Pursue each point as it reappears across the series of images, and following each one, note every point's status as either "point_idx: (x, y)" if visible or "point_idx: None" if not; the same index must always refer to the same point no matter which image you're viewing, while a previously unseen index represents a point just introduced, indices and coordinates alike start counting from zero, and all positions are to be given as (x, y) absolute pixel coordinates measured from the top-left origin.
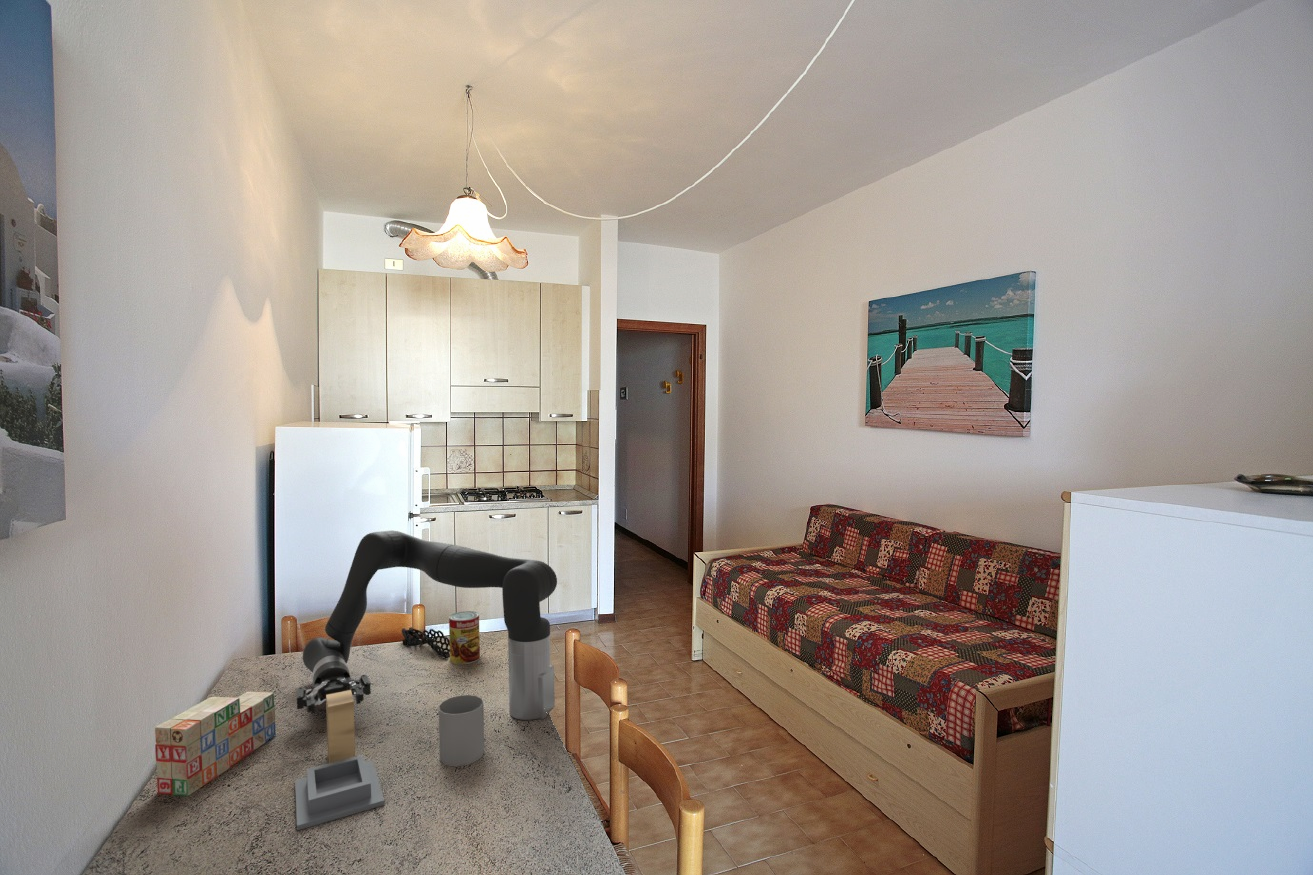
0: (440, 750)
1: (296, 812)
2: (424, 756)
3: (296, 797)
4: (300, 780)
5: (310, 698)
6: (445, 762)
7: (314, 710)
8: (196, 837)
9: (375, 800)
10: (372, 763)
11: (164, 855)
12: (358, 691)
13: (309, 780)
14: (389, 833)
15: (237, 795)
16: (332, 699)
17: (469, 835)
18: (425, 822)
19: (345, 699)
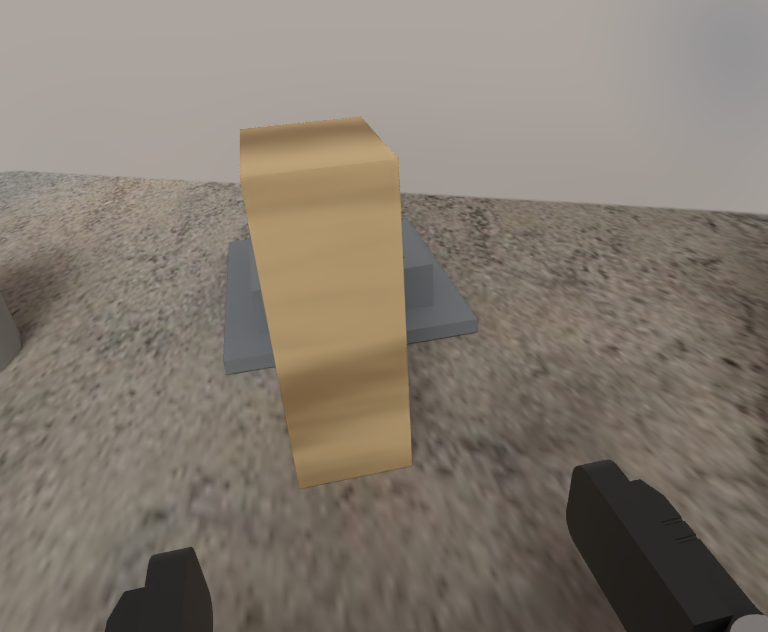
0: (5, 313)
1: (421, 239)
2: (47, 379)
3: (440, 269)
4: (458, 315)
5: (707, 582)
6: (17, 328)
7: (572, 505)
8: (622, 235)
9: (247, 243)
10: (229, 344)
11: (648, 216)
12: (153, 622)
13: (406, 234)
14: (237, 212)
15: (644, 319)
16: (349, 139)
17: (118, 201)
18: (170, 220)
19: (279, 136)
